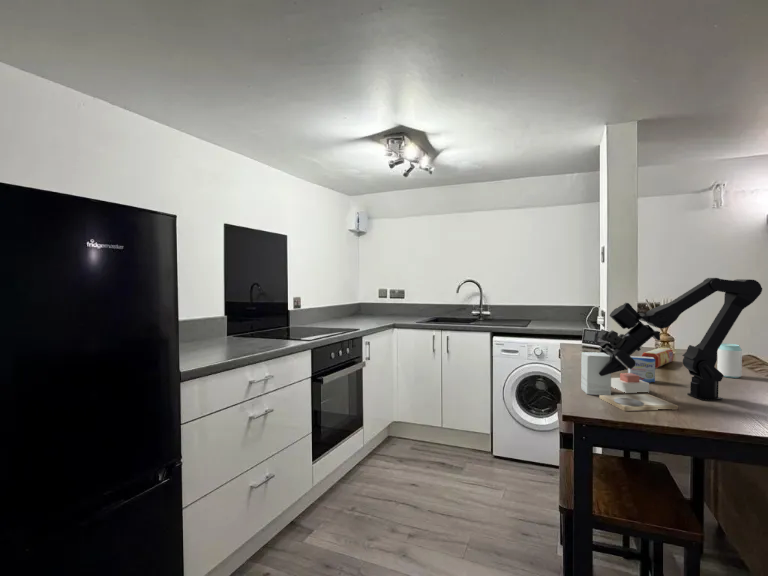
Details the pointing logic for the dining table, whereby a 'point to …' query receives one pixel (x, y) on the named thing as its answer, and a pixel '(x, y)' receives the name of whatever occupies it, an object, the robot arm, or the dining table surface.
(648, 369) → the medicine box
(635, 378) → the button
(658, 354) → the snack package
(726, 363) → the can
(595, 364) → the supplement box
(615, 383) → the button housing
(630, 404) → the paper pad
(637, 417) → the dining table surface
